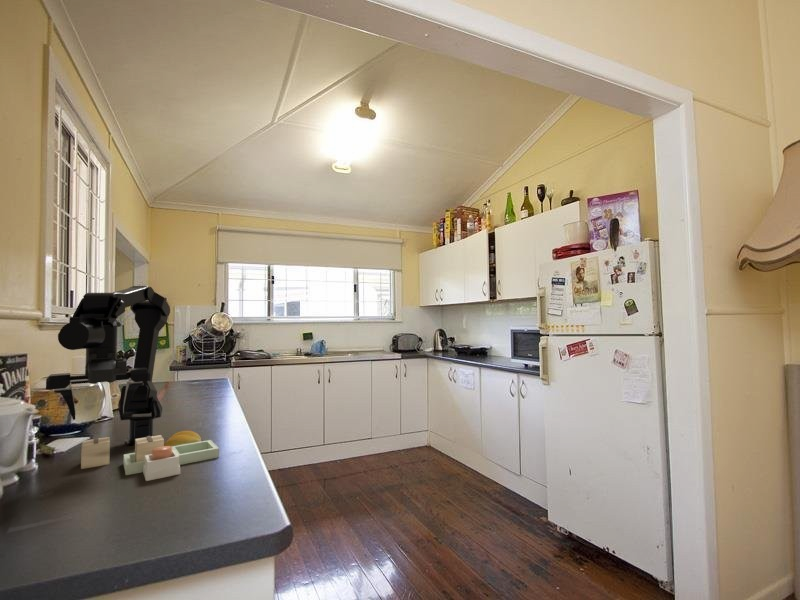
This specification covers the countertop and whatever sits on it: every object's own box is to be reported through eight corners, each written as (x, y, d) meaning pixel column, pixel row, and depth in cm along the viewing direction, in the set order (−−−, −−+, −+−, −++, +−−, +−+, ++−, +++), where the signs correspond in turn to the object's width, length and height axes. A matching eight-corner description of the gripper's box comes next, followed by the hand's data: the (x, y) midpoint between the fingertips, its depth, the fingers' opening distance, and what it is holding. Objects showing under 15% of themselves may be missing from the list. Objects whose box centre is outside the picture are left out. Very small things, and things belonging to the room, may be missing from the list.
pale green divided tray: (123, 466, 91) (123, 454, 91) (210, 450, 101) (210, 439, 102) (125, 477, 83) (126, 465, 84) (219, 459, 94) (219, 448, 94)
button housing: (143, 474, 85) (143, 455, 85) (175, 468, 88) (175, 449, 89) (146, 483, 80) (146, 462, 80) (180, 476, 84) (180, 456, 84)
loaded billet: (134, 464, 90) (135, 438, 91) (160, 459, 93) (161, 434, 94) (136, 470, 86) (137, 442, 87) (163, 465, 89) (164, 438, 90)
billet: (81, 465, 92) (82, 439, 92) (108, 460, 95) (109, 436, 95) (80, 471, 88) (81, 444, 88) (109, 466, 91) (110, 440, 91)
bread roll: (159, 455, 99) (160, 438, 99) (170, 445, 108) (170, 429, 108) (196, 451, 101) (197, 435, 101) (204, 442, 110) (204, 427, 110)
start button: (150, 458, 85) (151, 448, 85) (170, 454, 87) (170, 445, 87) (152, 462, 82) (153, 452, 82) (173, 458, 84) (173, 448, 84)
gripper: (45, 351, 81) (42, 430, 80) (154, 346, 92) (152, 416, 91) (48, 348, 89) (46, 420, 89) (147, 344, 101) (146, 408, 100)
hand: (100, 416), depth 92 cm, fingers open, 9 cm apart
